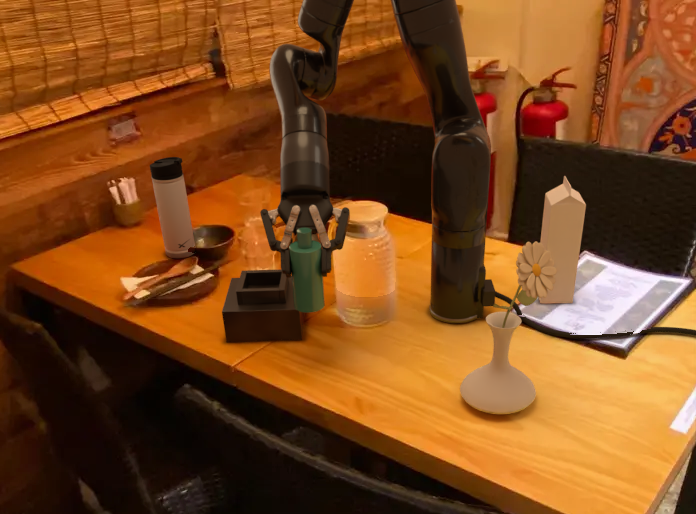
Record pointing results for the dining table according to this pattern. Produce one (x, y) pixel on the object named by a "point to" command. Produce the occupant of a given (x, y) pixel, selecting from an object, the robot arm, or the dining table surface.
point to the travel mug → (172, 206)
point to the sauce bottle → (306, 272)
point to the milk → (563, 239)
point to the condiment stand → (261, 308)
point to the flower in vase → (499, 375)
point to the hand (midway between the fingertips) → (306, 275)
